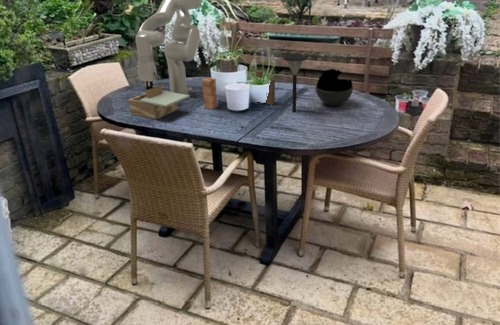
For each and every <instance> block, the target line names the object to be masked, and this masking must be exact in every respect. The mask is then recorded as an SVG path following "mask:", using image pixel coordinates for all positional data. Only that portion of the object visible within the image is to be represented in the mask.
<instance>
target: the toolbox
mask: <svg viewBox="0 0 500 325" xmlns="http://www.w3.org/2000/svg"><path fill="white" fill-rule="evenodd" d="M146 97H147V96H146V92H145V93H143V94H141V95H140V94H139V95H137V96H134V97H132V98H129V99H128V107H129V113H130V115H133V116H137V117H142V118H146V119H150V120H154V121H155V120H158V119H160V118H162V117H165V116H168V115H169V114H172V113H174V112H175V111H178V110H179V104H178V102H177V103H174V104H172V105H170V106H167V107H163V106H158V105H154V104H149V103H144V102H140V99H143V98H146Z"/></svg>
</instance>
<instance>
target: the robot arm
mask: <svg viewBox="0 0 500 325" xmlns="http://www.w3.org/2000/svg"><path fill="white" fill-rule="evenodd" d="M202 2H203V1H202V0H162V1H161V3H160V5H159V6H158V9H157V11H156V12H155V13H154V14H152V15H151V16H149V17H148V18H147V19H146V20H144V21H143V23H142V24H141V25H140V28H139V29H138V32H137V34H136V35H135V38H134V39H135V44H136V45H135V46H136V52H137V67H136V68H137V78H138V80H140V81H141V82H143V83H144V86H145V88H146V90H148V89H151V88H154V87H153V86H154V84H157V82H158V81H157V80H158V72H157V67H156V63H155V61H154V55H153V53H154V52H153V47H159V46H162V45H163V44H164V42H165V36H164V34H163V32H161V31H158V30H156V29H157V28H160V27H163V26H165V25H168V24H170V23H171V21H172V20H173V17H174V15H175V14H176V19H175V23H174V25H173V29H172V32H171V38H172V40H173V41H175V42H169V43H167V44H166V45H165V46H164V55H165V60H166V63H167V69H168V70H167V71H168V79H169V88H170V90H169V91H170V92H174V93H179V94H184V95H189V98H190V97H191V94H190V93H189V92H191V91H192V90H193V88H192V87H191V86H190V87H187V77H186V75H187V74H186V67H185V64H184V62H190V61H193V60H194V58H195V56H196V53H197V49H198V45H199V41H200V35H201V34H200V30H199V28H198V27H197V26H195V25H191V23H192V15H191V14H190V11H189V10H195V9H196V10H197V9H200V7H201V5H202ZM146 90H145V91H146ZM189 98H186V99H185V100H187V99H189Z"/></svg>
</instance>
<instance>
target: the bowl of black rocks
mask: <svg viewBox="0 0 500 325" xmlns="http://www.w3.org/2000/svg"><path fill="white" fill-rule="evenodd" d="M341 74H343V71H341V70H339V69H336V68H330V69H327V70H324V71H323V72H322V73H321V76H320V77H319V78H318V80H317V82H316V85H315V93H316V95H317V97H318V99H319V100H320V101H321V102H323V104H325V105H329V106H339V105H342V104H344V103H345V102H347V101H349V99H350V97H351V96H352V93H353V92H354V91H353V90H354V86H353V80H352V79H349V80H348V79H343V78H342V79H341V78H338V77H340V75H341Z"/></svg>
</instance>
